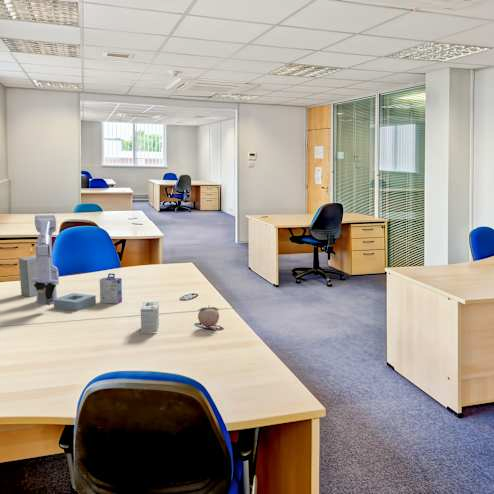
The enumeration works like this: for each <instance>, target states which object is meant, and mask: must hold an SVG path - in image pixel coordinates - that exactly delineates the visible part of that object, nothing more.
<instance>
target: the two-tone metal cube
mask: <svg viewBox="0 0 494 494" xmlns="http://www.w3.org/2000/svg"><path fill="white" fill-rule="evenodd" d="M38 300H39V302H38V304H39V305H48V304H49V303H51V302H53V294H52V298H51V299H47V292H46V289H45V288H43V289H40V290H38ZM49 305H50V304H49Z"/></svg>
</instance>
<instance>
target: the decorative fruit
mask: <svg viewBox="0 0 494 494" xmlns="http://www.w3.org/2000/svg"><path fill="white" fill-rule="evenodd" d="M219 311H220V309H219V308H218V307H216V306H211V307H210V306H209V307H200V308H199V309H198V310H197V312H198V313H197V319H198V322H199V323H200V324H201V326H204V327H206V328H208V327H209V328H211V327H213V326H215V325H216V324H217V323H218V322H219V319H220V313H219ZM210 326H211V327H210Z"/></svg>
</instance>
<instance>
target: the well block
mask: <svg viewBox="0 0 494 494" xmlns="http://www.w3.org/2000/svg"><path fill="white" fill-rule="evenodd" d="M96 297H97V296H96V295H91V294H85V293H77V292H72V293H68V294H66V295H63V296H60V297H57V298H56V299H53V302H54V303H53V308H54V309H60V310H67V311H74V312H78V311H80V310H83V309H86V308H89V307H91V306H94V305H96V304H97V303H96V301H97V300H96V299H97V298H96Z"/></svg>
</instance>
